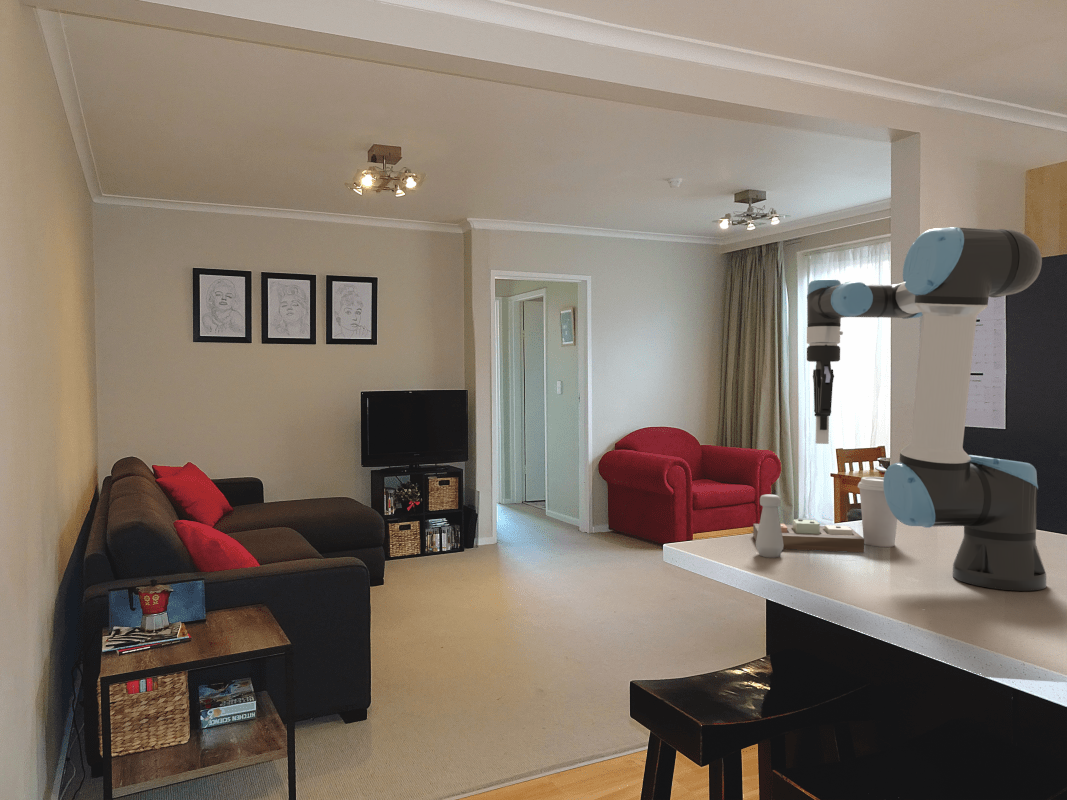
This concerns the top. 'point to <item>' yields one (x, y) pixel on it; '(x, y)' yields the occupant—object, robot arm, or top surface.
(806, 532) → the pale green square block
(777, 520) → the salt shaker
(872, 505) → the coffee cup
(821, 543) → the button board
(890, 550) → the top surface
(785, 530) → the tile
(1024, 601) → the top surface
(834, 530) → the cream square block
